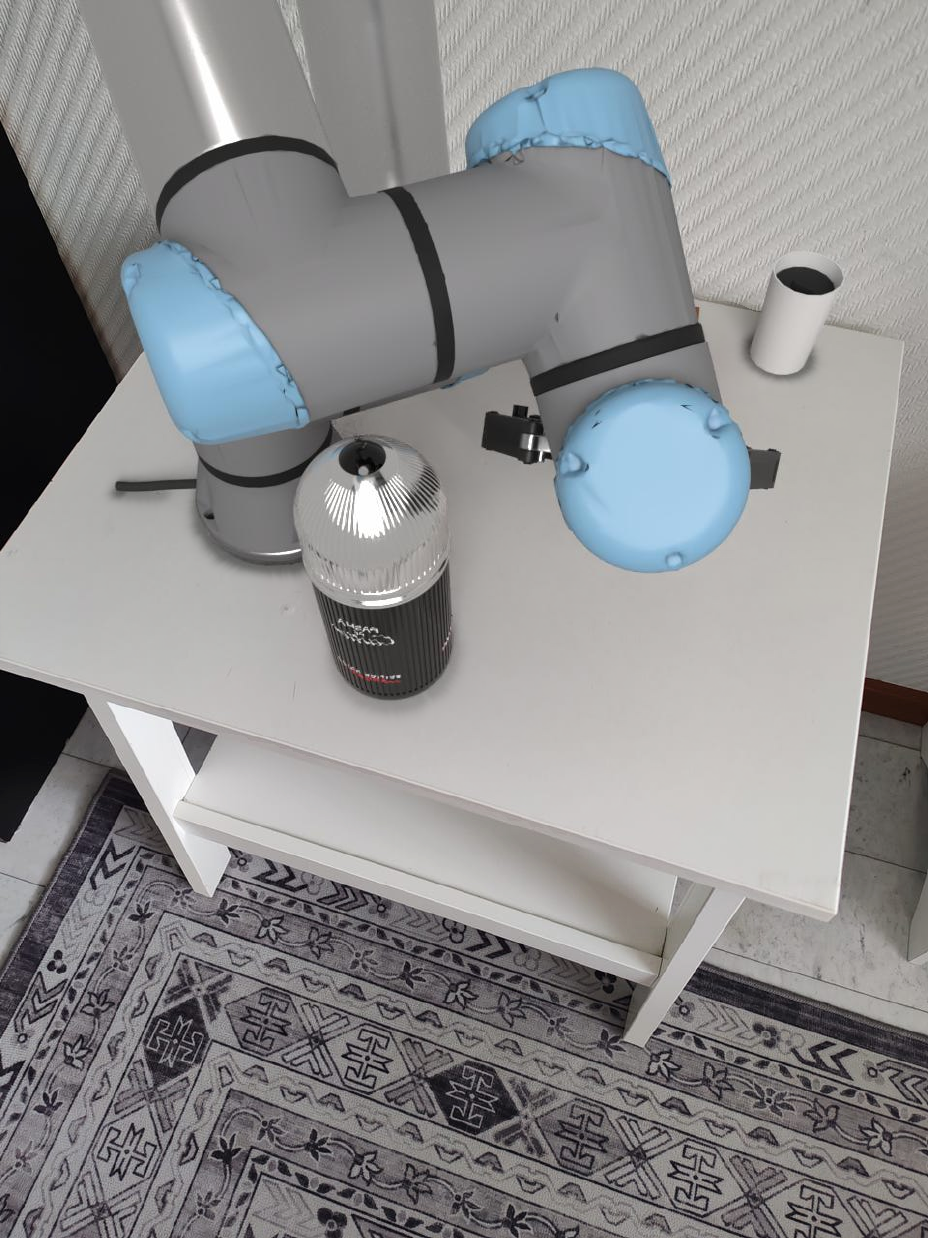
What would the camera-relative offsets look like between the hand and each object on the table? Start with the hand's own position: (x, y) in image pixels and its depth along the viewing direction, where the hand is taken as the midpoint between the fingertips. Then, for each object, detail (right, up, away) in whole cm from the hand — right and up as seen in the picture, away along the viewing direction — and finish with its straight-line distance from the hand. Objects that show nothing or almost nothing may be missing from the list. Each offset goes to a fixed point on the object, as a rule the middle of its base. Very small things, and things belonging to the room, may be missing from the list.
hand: (624, 444), depth 69 cm
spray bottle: (-18, -16, +6) cm, 25 cm away
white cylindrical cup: (+20, +14, +24) cm, 34 cm away
